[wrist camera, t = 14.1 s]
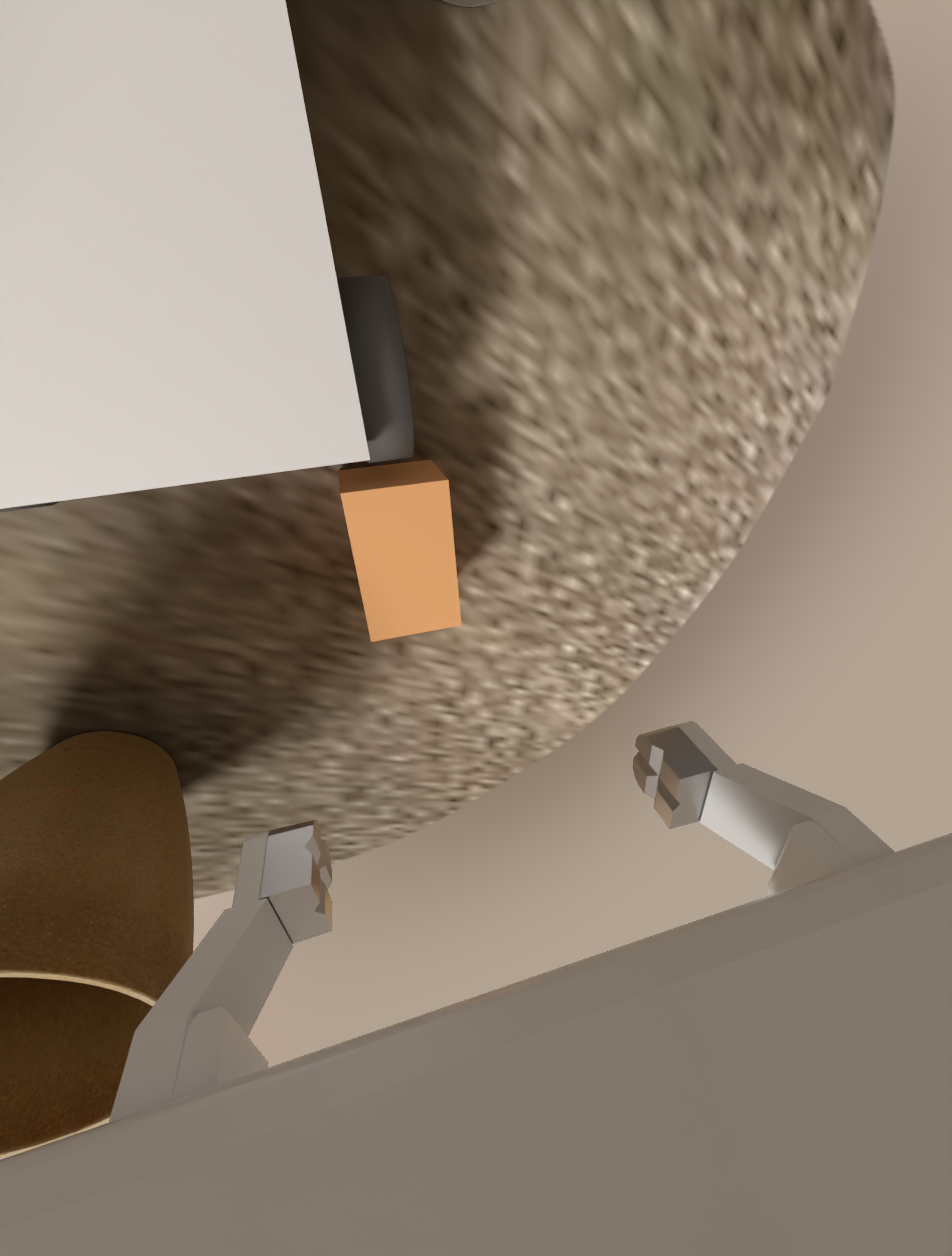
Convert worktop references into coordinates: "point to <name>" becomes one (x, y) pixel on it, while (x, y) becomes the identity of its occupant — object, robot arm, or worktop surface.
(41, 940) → the plant pot
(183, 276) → the cart
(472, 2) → the thermos bottle
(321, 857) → the robot arm
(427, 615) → the block
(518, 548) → the worktop surface
